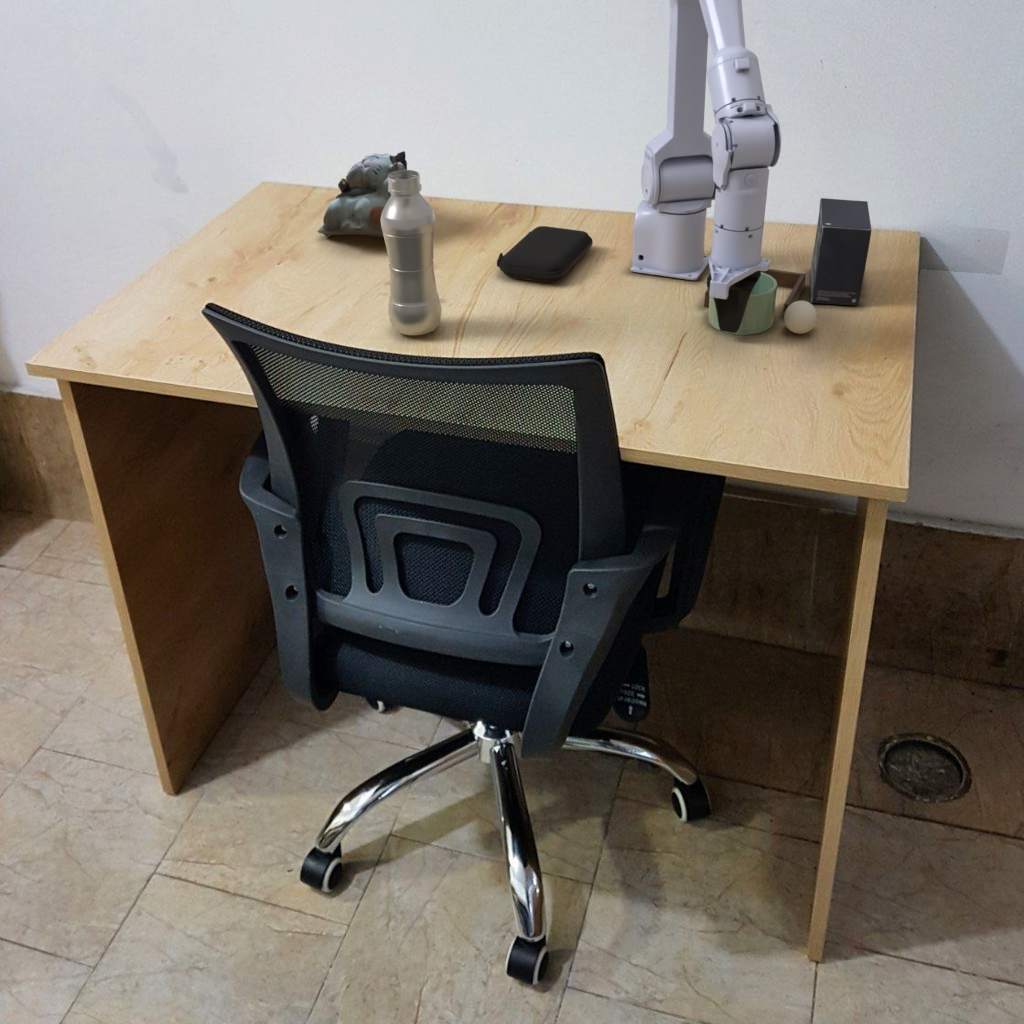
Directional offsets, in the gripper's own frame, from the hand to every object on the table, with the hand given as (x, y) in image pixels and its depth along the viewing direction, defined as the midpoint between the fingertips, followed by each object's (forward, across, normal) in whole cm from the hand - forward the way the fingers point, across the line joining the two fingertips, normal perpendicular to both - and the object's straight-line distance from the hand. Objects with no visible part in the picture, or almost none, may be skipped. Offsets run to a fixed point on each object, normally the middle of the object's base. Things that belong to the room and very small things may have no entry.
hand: (729, 329), depth 138 cm
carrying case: (+2, +14, +30) cm, 34 cm away
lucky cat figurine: (+2, +15, +60) cm, 61 cm away
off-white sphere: (-1, +5, -8) cm, 9 cm away
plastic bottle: (+2, -11, +38) cm, 39 cm away
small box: (+2, +19, -9) cm, 21 cm away
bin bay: (+1, +13, 0) cm, 13 cm away
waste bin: (+1, +6, 0) cm, 6 cm away
